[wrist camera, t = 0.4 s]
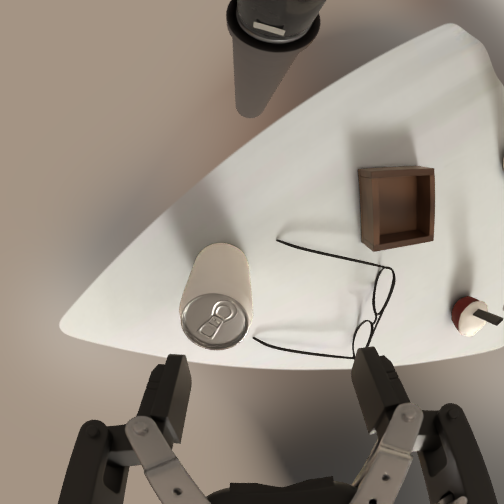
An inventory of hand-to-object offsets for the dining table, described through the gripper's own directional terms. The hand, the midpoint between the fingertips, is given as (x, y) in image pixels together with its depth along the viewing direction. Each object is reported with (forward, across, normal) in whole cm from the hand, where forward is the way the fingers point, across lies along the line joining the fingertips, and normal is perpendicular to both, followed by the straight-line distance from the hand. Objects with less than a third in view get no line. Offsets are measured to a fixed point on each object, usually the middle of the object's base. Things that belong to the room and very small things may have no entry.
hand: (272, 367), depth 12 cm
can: (+21, +5, +5) cm, 22 cm away
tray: (+23, -17, -2) cm, 28 cm away
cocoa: (+22, -35, +15) cm, 44 cm away
